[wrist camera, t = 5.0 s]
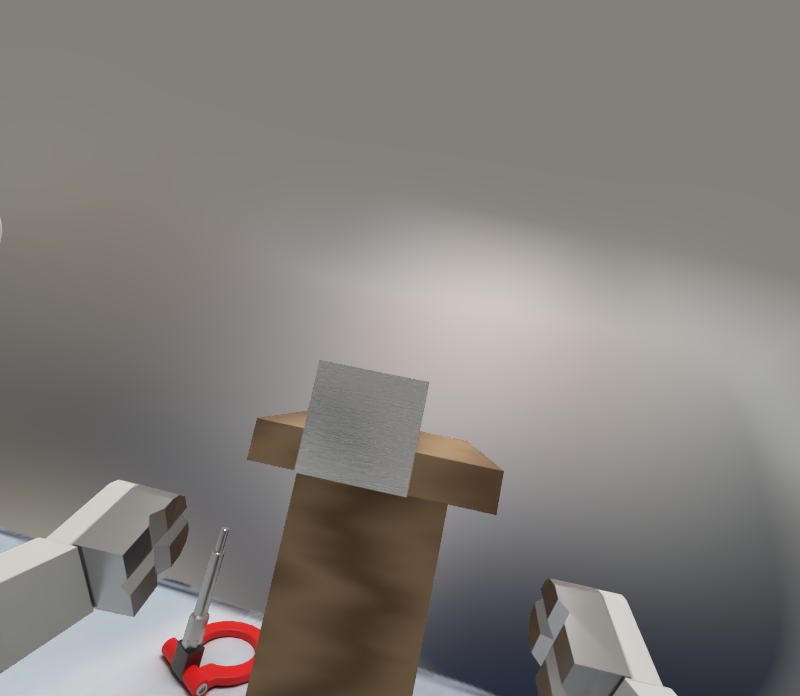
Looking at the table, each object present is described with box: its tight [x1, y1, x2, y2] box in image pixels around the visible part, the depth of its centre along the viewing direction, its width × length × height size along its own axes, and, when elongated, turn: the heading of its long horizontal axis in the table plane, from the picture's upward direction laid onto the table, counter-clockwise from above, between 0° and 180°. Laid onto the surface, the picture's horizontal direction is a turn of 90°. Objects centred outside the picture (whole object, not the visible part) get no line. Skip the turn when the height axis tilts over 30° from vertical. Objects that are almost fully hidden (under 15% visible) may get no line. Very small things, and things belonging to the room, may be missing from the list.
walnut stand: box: [246, 411, 504, 696], centre depth 23 cm, size 14×14×26 cm
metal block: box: [294, 360, 429, 497], centre depth 21 cm, size 3×22×3 cm, turn 178°
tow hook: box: [162, 527, 261, 696], centre depth 39 cm, size 8×13×9 cm
